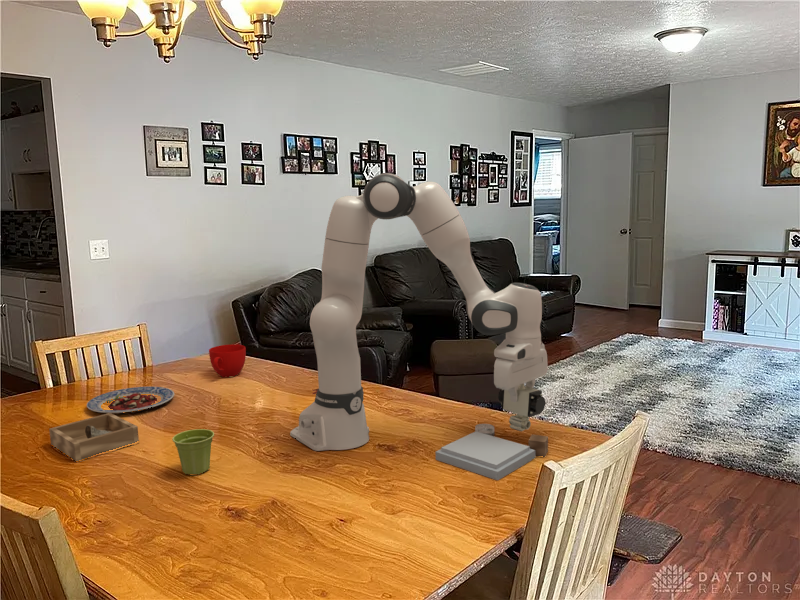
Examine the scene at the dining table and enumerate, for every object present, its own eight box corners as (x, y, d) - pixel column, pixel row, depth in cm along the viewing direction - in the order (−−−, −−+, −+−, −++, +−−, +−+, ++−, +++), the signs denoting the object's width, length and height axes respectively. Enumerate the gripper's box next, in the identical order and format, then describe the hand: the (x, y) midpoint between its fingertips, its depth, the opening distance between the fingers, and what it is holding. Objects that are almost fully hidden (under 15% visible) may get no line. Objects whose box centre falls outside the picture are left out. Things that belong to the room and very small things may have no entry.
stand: (435, 459, 156) (435, 447, 155) (474, 440, 167) (474, 429, 167) (497, 480, 143) (497, 467, 143) (535, 458, 155) (535, 446, 155)
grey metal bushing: (471, 436, 170) (471, 427, 170) (482, 431, 174) (482, 422, 174) (487, 441, 167) (487, 431, 167) (498, 435, 171) (498, 426, 170)
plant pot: (173, 466, 155) (171, 432, 154) (214, 459, 159) (211, 426, 158) (177, 482, 147) (173, 446, 146) (219, 474, 151) (216, 438, 149)
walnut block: (528, 455, 157) (528, 440, 156) (531, 449, 160) (531, 434, 160) (544, 457, 155) (545, 442, 155) (547, 451, 159) (548, 436, 158)
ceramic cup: (199, 382, 226) (197, 355, 225) (220, 369, 243) (218, 344, 241) (233, 383, 224) (232, 355, 223) (252, 370, 241) (251, 344, 239)
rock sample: (129, 427, 170) (100, 409, 167) (112, 452, 165) (81, 434, 163) (120, 433, 178) (92, 416, 175) (103, 458, 173) (74, 441, 171)
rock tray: (51, 445, 171) (49, 428, 170) (111, 429, 182) (109, 412, 181) (76, 462, 159) (74, 444, 158) (139, 443, 171) (137, 426, 170)
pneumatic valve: (533, 436, 160) (536, 390, 159) (495, 424, 169) (498, 380, 167) (545, 432, 164) (548, 386, 163) (508, 421, 173) (511, 377, 171)
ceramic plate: (191, 399, 208) (191, 390, 208) (120, 424, 187) (119, 414, 186) (141, 388, 222) (141, 380, 221) (70, 410, 200) (69, 401, 200)
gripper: (533, 338, 173) (531, 387, 176) (489, 351, 158) (488, 405, 161) (554, 341, 169) (552, 392, 171) (511, 355, 154) (510, 410, 156)
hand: (521, 398), depth 166 cm, fingers closed on pneumatic valve, 5 cm apart
